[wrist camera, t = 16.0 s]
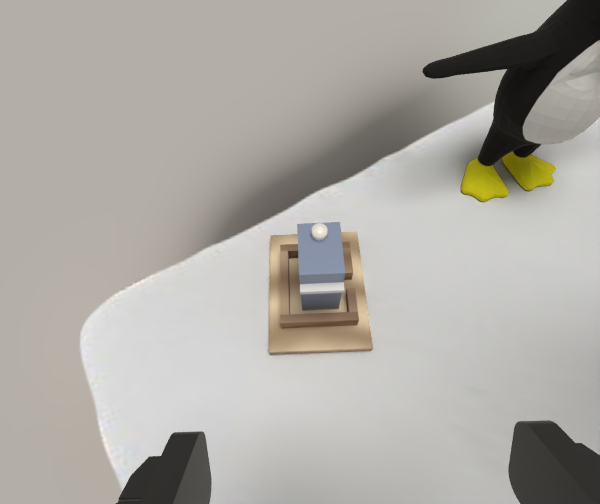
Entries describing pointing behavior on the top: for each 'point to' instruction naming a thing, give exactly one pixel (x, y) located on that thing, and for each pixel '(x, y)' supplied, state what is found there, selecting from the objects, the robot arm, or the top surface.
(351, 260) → the wooden fixture board
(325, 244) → the servo block
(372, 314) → the top surface
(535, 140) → the toy
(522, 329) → the top surface
